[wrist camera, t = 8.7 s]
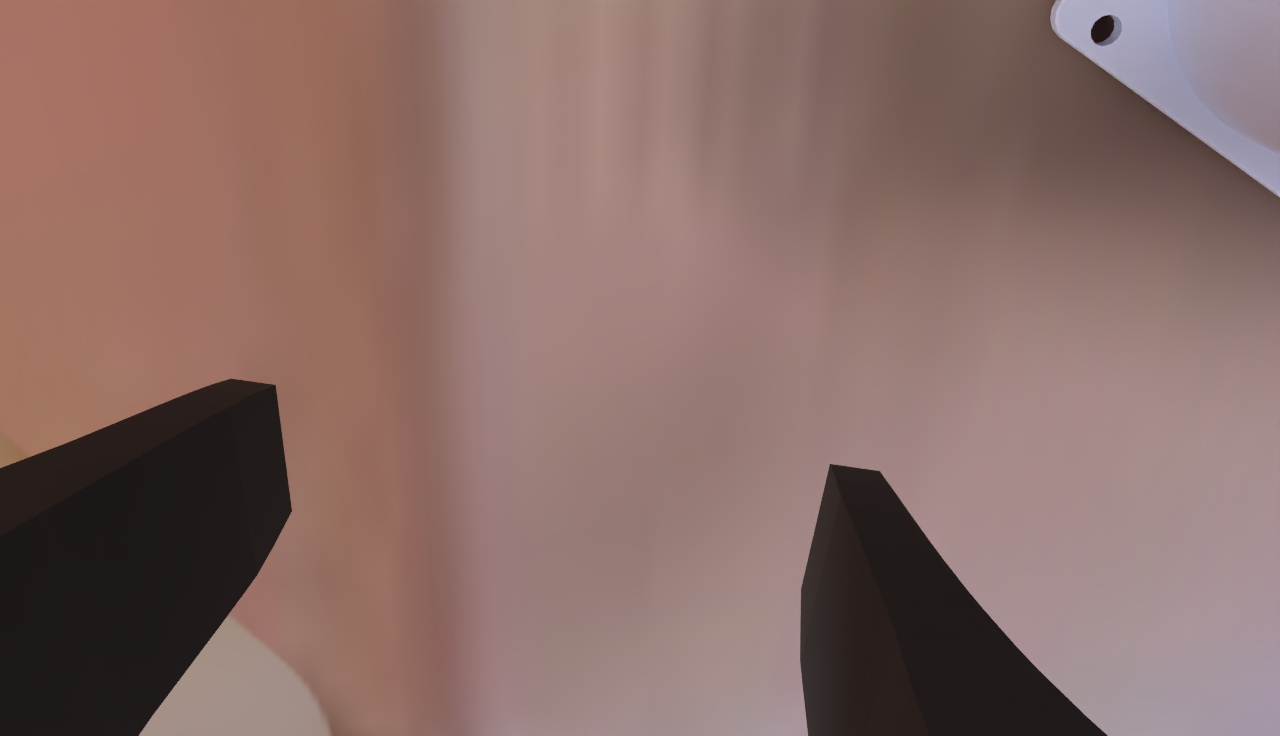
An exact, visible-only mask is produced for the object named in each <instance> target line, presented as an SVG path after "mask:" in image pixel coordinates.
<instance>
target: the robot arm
mask: <svg viewBox="0 0 1280 736" xmlns="http://www.w3.org/2000/svg"><path fill="white" fill-rule="evenodd" d="M1106 15H1111V17H1112V18H1113V20H1114V30H1113V32H1112V33H1111V35H1110V37H1108V38H1107V39H1106V40H1104V41H1103V42H1098V43H1094V41H1093V40H1092V39H1091V29H1092V27H1093V25H1094V23H1095V22H1096V21H1097V20H1098V19H1100V18H1101V17H1102V16H1106ZM1050 21H1051V25H1052V29H1053V31H1054V32H1055V33H1056V34H1057V35H1058V36H1059V37H1060V38H1061V39H1062V40H1064V41H1065V42H1066V43H1068V44H1069V45H1071V46H1072V47H1073V48H1075V49H1076V50H1077V51H1079V52H1080V53H1082V54H1083V55H1084V56H1086V57H1087V58H1088V59H1090V60H1091V61H1093V62H1094V63H1095V64H1097V65H1098V66H1099V67H1101V68H1102V69H1104V70H1105V71H1106V72H1108V73H1109V74H1110V75H1112V76H1113V77H1115V78H1116V79H1117V80H1119V81H1120V82H1121V83H1123V84H1124V85H1126V86H1127V87H1128V88H1130V89H1131V90H1132V91H1134V92H1135V93H1137V94H1138V95H1139V96H1141V97H1142V98H1143V99H1145V100H1146V101H1148V102H1149V103H1150V104H1152V105H1153V106H1154V107H1156V108H1157V109H1159V110H1160V111H1161V112H1163V113H1164V114H1165V115H1167V116H1168V117H1170V118H1171V119H1172V120H1174V121H1175V122H1176V123H1178V124H1179V125H1181V126H1182V127H1183V128H1185V129H1186V130H1187V131H1189V132H1190V133H1192V134H1193V135H1194V136H1196V137H1197V138H1198V139H1200V140H1201V141H1203V142H1204V143H1205V144H1207V145H1208V146H1209V147H1211V148H1212V149H1214V150H1215V151H1216V152H1218V153H1219V154H1220V155H1222V156H1223V157H1225V158H1226V159H1227V160H1229V161H1230V162H1231V163H1233V164H1234V165H1236V166H1237V167H1238V168H1240V169H1241V170H1242V171H1244V172H1245V173H1247V174H1248V175H1249V176H1251V177H1252V178H1253V179H1255V180H1256V181H1258V182H1259V183H1260V184H1262V185H1263V186H1264V187H1266V188H1267V189H1269V190H1270V191H1271V192H1273V193H1274V194H1275V195H1277V196H1278V197H1280V0H1056V2H1055V4H1054V5H1053V7H1052V11H1051V17H1050ZM291 512H292V509H291V501H290V493H289V486H288V478H287V470H286V462H285V455H284V447H283V439H282V432H281V424H280V416H279V409H278V401H277V393H276V385H271V384H264V383H257V382H250V381H243V380H236V379H229V380H225V381H222V382H219V383H215V384H212V385H210V386H207V387H204V388H201V389H199V390H196V391H193V392H191V393H188V394H185V395H183V396H180V397H178V398H175V399H173V400H170V401H168V402H165V403H163V404H161V405H158V406H156V407H153V408H151V409H148V410H146V411H144V412H141V413H139V414H136V415H134V416H132V417H129V418H127V419H124V420H122V421H119V422H117V423H115V424H112V425H110V426H107V427H105V428H102V429H100V430H98V431H95V432H93V433H90V434H88V435H85V436H83V437H81V438H78V439H76V440H73V441H71V442H68V443H66V444H63V445H61V446H58V447H55V448H53V449H50V450H47V451H45V452H42V453H40V454H37V455H34V456H32V457H29V458H26V459H24V460H21V461H19V462H16V463H13V464H10V465H8V466H5V467H3V468H0V736H139V734H140V732H141V731H142V730H143V728H144V727H145V725H146V724H147V722H148V721H149V719H150V718H151V717H152V715H153V714H154V713H155V711H156V710H157V709H158V707H159V706H160V705H161V703H162V702H163V701H164V699H165V698H166V697H167V696H168V694H169V693H170V692H171V690H172V689H173V687H174V686H175V685H176V684H177V682H178V681H179V680H180V678H181V677H182V676H183V674H184V673H185V671H186V670H187V669H188V668H189V666H190V665H191V664H192V662H193V661H194V660H195V658H196V657H197V656H198V654H199V653H200V651H201V650H202V649H203V648H204V646H205V645H206V644H207V642H208V641H209V640H210V638H211V637H212V636H213V634H214V633H215V631H216V630H217V629H218V628H219V626H220V625H221V624H222V622H223V621H224V620H225V618H226V617H227V616H228V614H229V613H230V612H231V610H232V609H233V607H234V606H235V605H236V603H237V602H238V601H239V599H240V598H241V597H242V595H243V594H244V593H245V591H246V590H247V588H248V587H249V586H250V584H251V583H252V581H253V580H254V579H255V577H256V576H257V574H258V572H259V571H260V569H261V567H262V565H263V564H264V562H265V560H266V558H267V557H268V555H269V553H270V551H271V550H272V548H273V546H274V544H275V542H276V540H277V538H278V537H279V535H280V533H281V531H282V529H283V527H284V525H285V523H286V521H287V519H288V517H289V515H290V514H291ZM800 662H801V672H802V682H803V691H804V700H805V709H806V719H807V728H808V736H1107V735H1106V734H1105V733H1104V732H1103V731H1102V730H1101V729H1100V728H1098V727H1097V726H1096V725H1095V724H1094V723H1093V722H1092V721H1091V720H1090V719H1088V718H1087V717H1086V716H1085V715H1084V714H1083V713H1082V712H1081V711H1080V710H1079V709H1078V708H1077V707H1076V706H1075V705H1074V704H1073V703H1072V702H1071V701H1070V700H1069V699H1068V698H1067V697H1066V696H1065V695H1064V694H1063V693H1062V692H1061V691H1060V690H1058V689H1057V688H1056V687H1055V686H1054V685H1053V684H1052V683H1051V682H1050V681H1049V680H1048V679H1047V678H1046V677H1045V676H1044V675H1043V674H1042V673H1041V672H1040V671H1039V670H1038V669H1037V668H1036V667H1035V666H1034V665H1033V664H1032V663H1031V662H1030V661H1029V660H1028V658H1027V657H1026V656H1025V655H1024V654H1023V653H1022V652H1021V651H1020V650H1019V649H1018V648H1017V647H1016V646H1015V645H1014V643H1013V642H1012V641H1011V640H1010V639H1009V638H1008V637H1007V636H1006V634H1005V633H1004V632H1003V631H1002V630H1001V629H1000V628H999V627H998V625H997V624H996V623H995V622H994V621H993V620H992V619H991V618H990V616H989V615H988V614H987V613H986V612H985V611H984V610H983V608H982V607H981V606H980V605H979V604H978V602H977V601H976V600H975V599H974V598H973V596H972V595H971V594H970V593H969V592H968V590H967V589H966V588H965V587H964V585H963V584H962V583H961V582H960V580H959V579H958V578H957V576H956V575H955V574H954V573H953V571H952V570H951V569H950V567H949V566H948V565H947V564H946V562H945V561H944V560H943V559H942V557H941V556H940V554H939V553H938V552H937V550H936V549H935V548H934V546H933V545H932V544H931V542H930V541H929V540H928V538H927V537H926V535H925V534H924V533H923V531H922V530H921V529H920V527H919V526H918V524H917V523H916V522H915V520H914V519H913V517H912V516H911V515H910V513H909V512H908V510H907V509H906V507H905V506H904V505H903V503H902V502H901V500H900V499H899V498H898V496H897V495H896V493H895V492H894V490H893V489H892V488H891V486H890V485H889V484H888V482H887V481H886V479H885V478H884V477H883V475H882V474H881V473H880V471H874V470H867V469H860V468H853V467H846V466H839V465H832V464H830V467H829V471H828V475H827V480H826V484H825V488H824V493H823V497H822V501H821V506H820V510H819V514H818V519H817V523H816V527H815V532H814V536H813V540H812V545H811V549H810V553H809V558H808V562H807V566H806V571H805V575H804V579H803V584H802V588H801V644H800Z"/></svg>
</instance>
